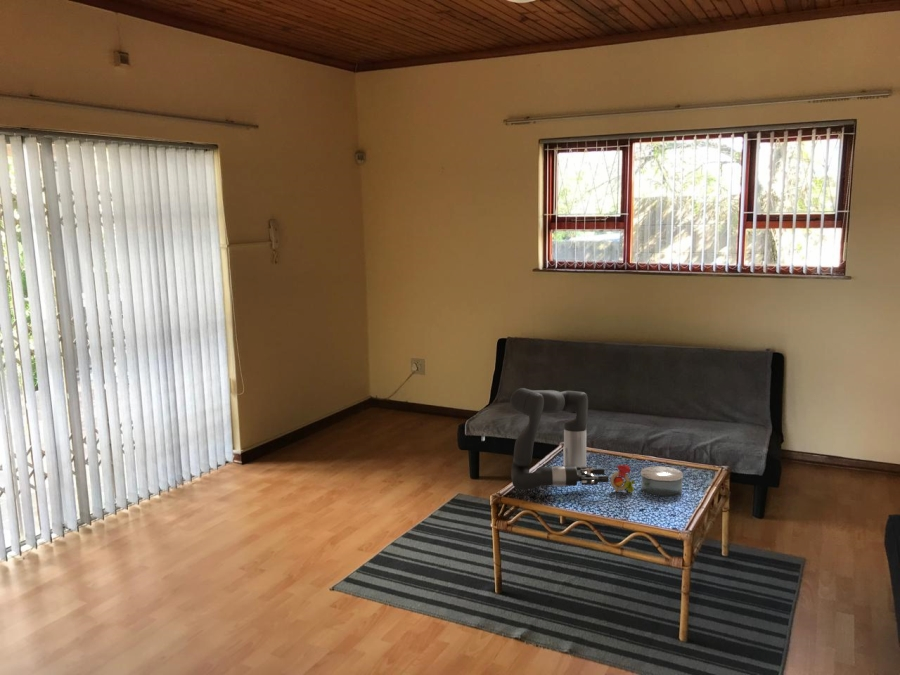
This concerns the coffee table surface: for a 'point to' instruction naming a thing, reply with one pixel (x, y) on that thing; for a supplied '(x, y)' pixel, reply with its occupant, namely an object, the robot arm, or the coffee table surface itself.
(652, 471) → the biscuit tin
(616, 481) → the bird rattle
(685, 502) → the coffee table surface
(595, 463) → the coffee table surface
